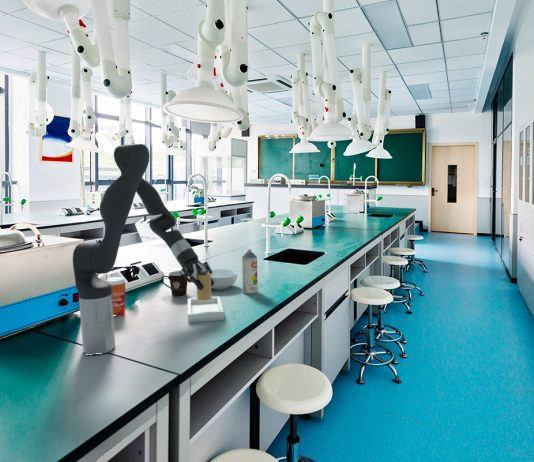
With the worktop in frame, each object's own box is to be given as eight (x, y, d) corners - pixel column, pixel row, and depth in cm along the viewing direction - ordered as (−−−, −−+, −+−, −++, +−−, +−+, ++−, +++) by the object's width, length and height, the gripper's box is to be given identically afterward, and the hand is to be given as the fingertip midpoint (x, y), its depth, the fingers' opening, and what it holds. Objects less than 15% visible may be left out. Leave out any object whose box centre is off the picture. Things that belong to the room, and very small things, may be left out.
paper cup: (105, 318, 151) (103, 282, 149) (108, 311, 158) (105, 277, 156) (127, 316, 153) (125, 280, 151) (128, 309, 160) (126, 275, 158)
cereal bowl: (194, 289, 188) (194, 275, 187) (215, 281, 203) (214, 267, 202) (224, 294, 180) (224, 278, 179) (243, 285, 195) (243, 271, 194)
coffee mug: (192, 293, 182) (192, 272, 180) (179, 298, 174) (178, 276, 173) (174, 290, 187) (173, 269, 186) (160, 294, 180) (159, 273, 179)
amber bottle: (211, 299, 153) (211, 272, 152) (197, 300, 152) (196, 272, 151) (211, 295, 158) (210, 268, 157) (197, 296, 157) (196, 269, 156)
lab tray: (223, 319, 147) (223, 311, 147) (188, 322, 145) (187, 314, 144) (219, 303, 167) (219, 296, 166) (188, 305, 164) (187, 298, 164)
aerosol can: (253, 295, 178) (253, 251, 175) (240, 293, 181) (239, 250, 178) (260, 291, 184) (259, 248, 181) (246, 289, 187) (245, 247, 184)
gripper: (175, 250, 151) (199, 285, 146) (201, 244, 163) (224, 277, 158) (166, 262, 154) (189, 297, 149) (192, 256, 166) (215, 288, 161)
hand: (207, 286), depth 154 cm, fingers closed on amber bottle, 5 cm apart
